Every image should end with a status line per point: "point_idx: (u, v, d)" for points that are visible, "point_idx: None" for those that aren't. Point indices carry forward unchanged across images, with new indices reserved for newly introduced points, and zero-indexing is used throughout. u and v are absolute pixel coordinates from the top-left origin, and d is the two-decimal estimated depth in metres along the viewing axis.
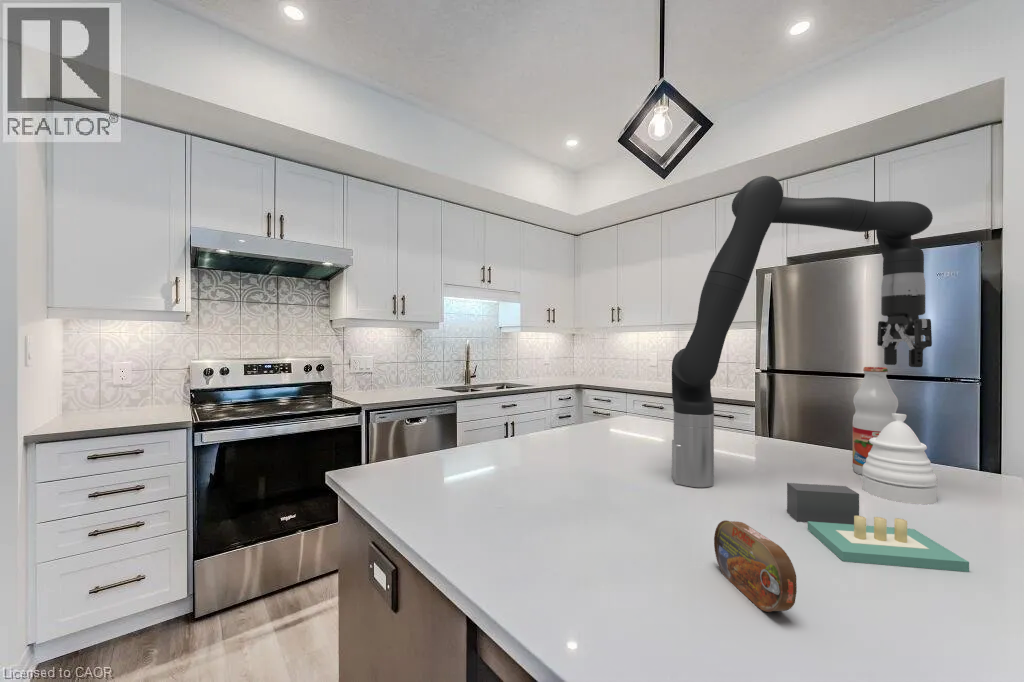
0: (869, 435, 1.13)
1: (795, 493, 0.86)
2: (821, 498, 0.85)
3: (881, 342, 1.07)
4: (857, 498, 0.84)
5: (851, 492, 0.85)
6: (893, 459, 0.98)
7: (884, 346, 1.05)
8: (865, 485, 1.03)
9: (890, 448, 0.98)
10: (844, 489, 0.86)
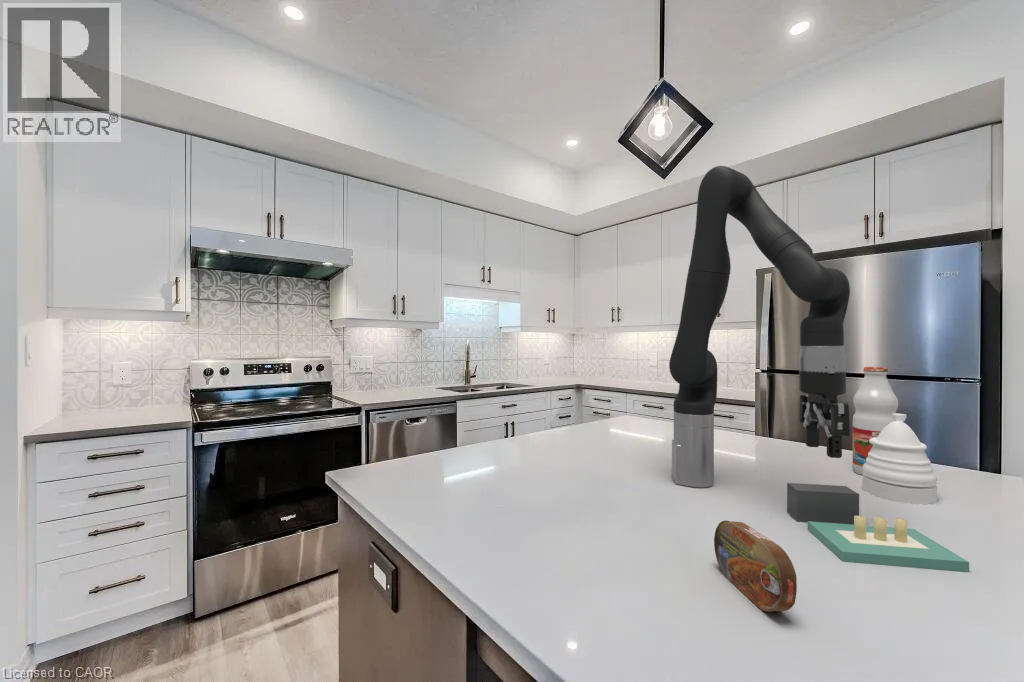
0: (869, 435, 1.13)
1: (795, 493, 0.86)
2: (821, 498, 0.85)
3: (803, 419, 0.93)
4: (857, 498, 0.84)
5: (851, 492, 0.85)
6: (893, 459, 0.98)
7: (805, 425, 0.91)
8: (865, 485, 1.03)
9: (890, 448, 0.98)
10: (844, 489, 0.86)
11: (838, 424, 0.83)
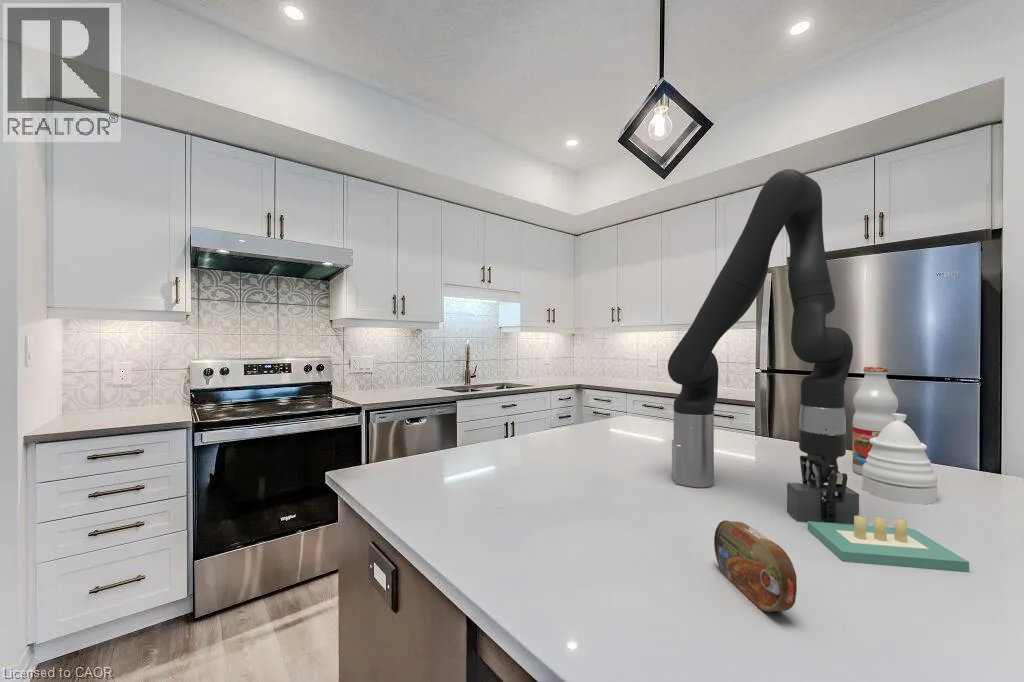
0: (869, 435, 1.13)
1: (795, 493, 0.86)
2: None
3: (806, 480, 0.91)
4: (857, 498, 0.84)
5: (851, 492, 0.85)
6: (893, 459, 0.98)
7: None
8: (865, 485, 1.03)
9: (890, 448, 0.98)
10: None
11: None
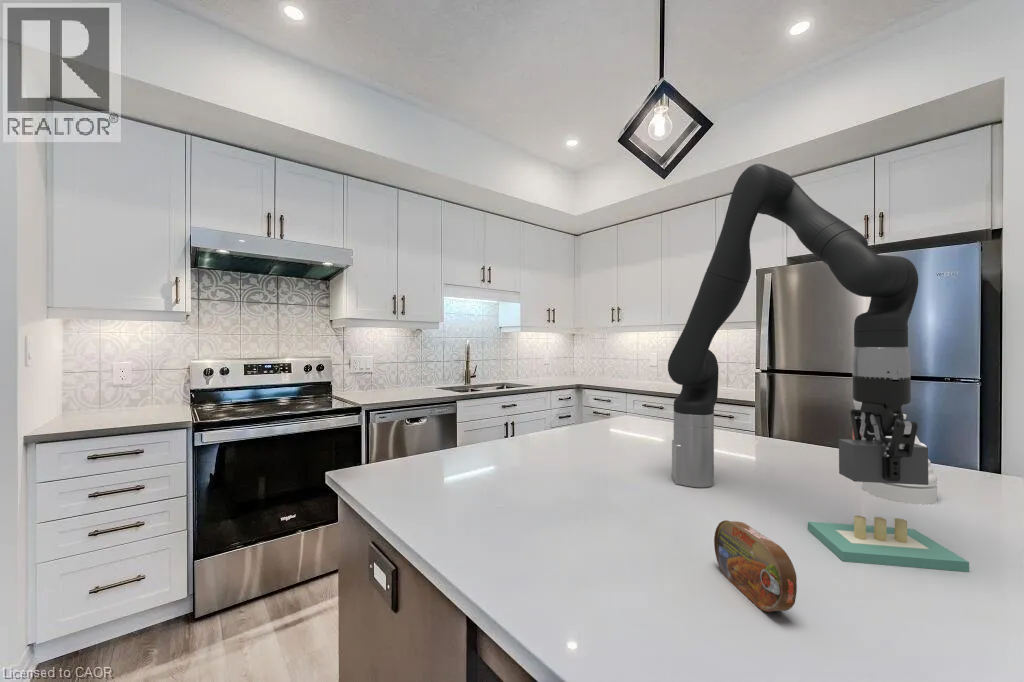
0: None
1: (852, 449, 0.74)
2: None
3: (859, 437, 0.79)
4: (926, 453, 0.71)
5: (918, 446, 0.72)
6: None
7: None
8: (865, 485, 1.03)
9: None
10: None
11: None
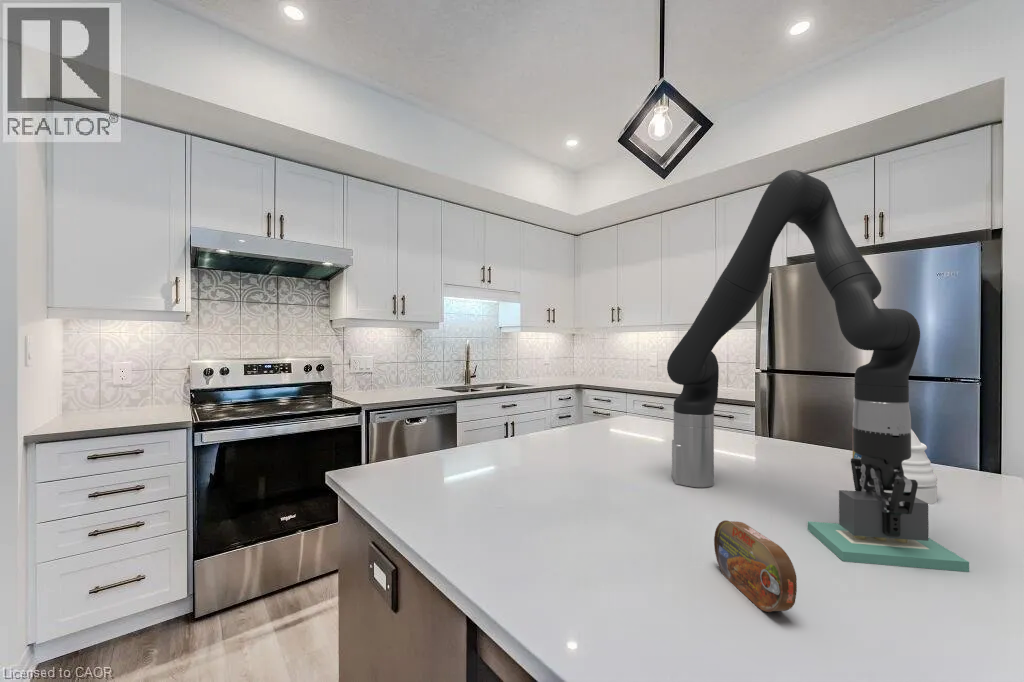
0: None
1: (852, 503, 0.74)
2: None
3: (859, 487, 0.79)
4: (926, 508, 0.71)
5: (918, 501, 0.72)
6: None
7: None
8: None
9: None
10: None
11: None
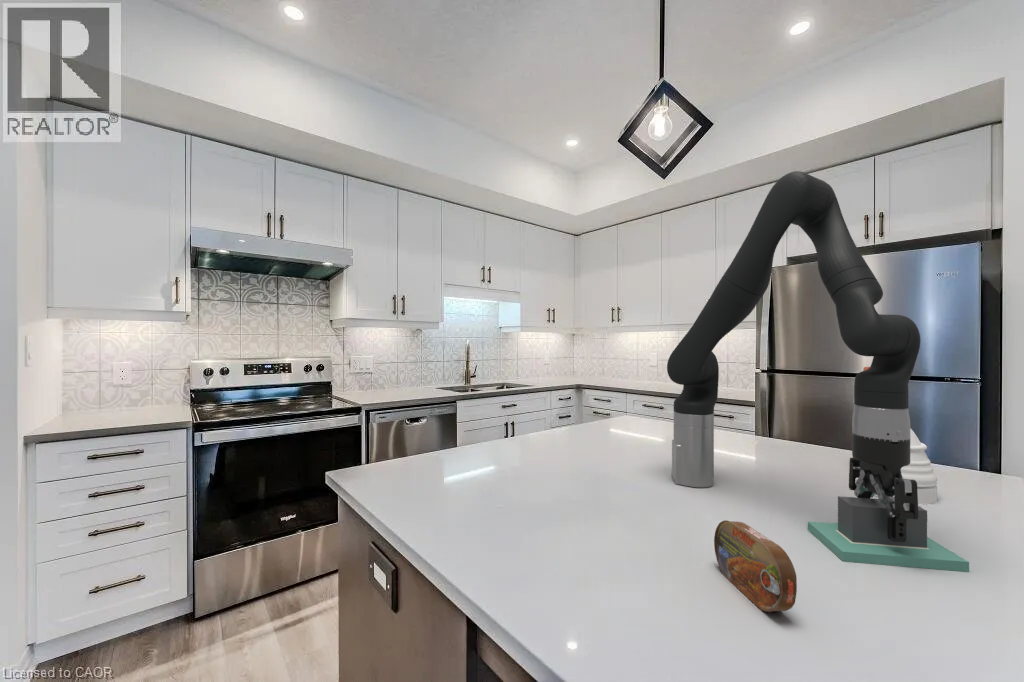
0: None
1: (850, 509, 0.74)
2: (881, 515, 0.73)
3: (853, 486, 0.81)
4: (925, 516, 0.71)
5: None
6: None
7: (857, 494, 0.79)
8: None
9: None
10: (907, 504, 0.74)
11: None
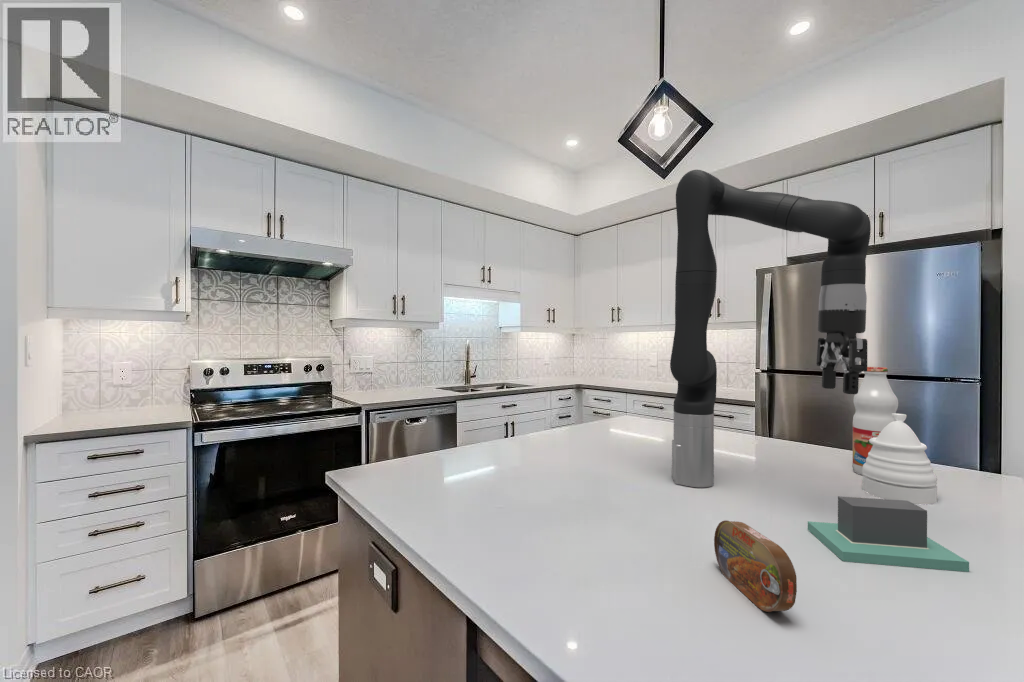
0: (870, 435, 1.13)
1: (850, 509, 0.74)
2: (881, 515, 0.73)
3: (820, 362, 0.93)
4: (925, 516, 0.71)
5: (917, 508, 0.72)
6: (893, 459, 0.98)
7: (822, 367, 0.92)
8: (865, 485, 1.03)
9: (890, 448, 0.98)
10: (907, 504, 0.74)
11: (856, 361, 0.83)
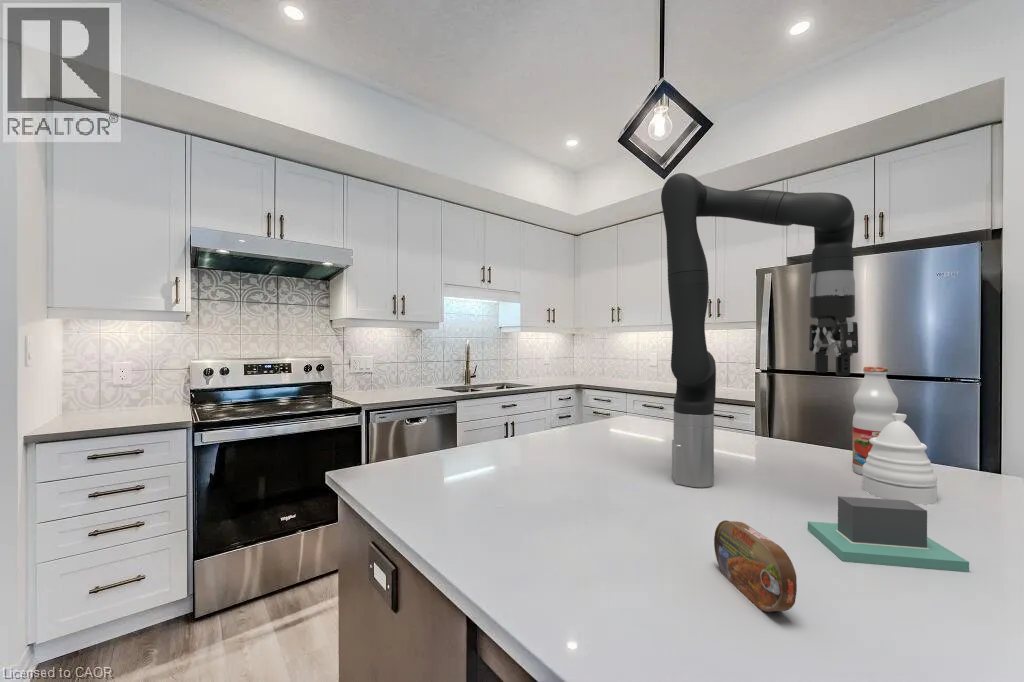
0: (869, 435, 1.13)
1: (850, 509, 0.74)
2: (881, 515, 0.73)
3: (812, 347, 0.97)
4: (925, 516, 0.71)
5: (917, 508, 0.72)
6: (893, 459, 0.98)
7: (815, 352, 0.96)
8: (865, 485, 1.03)
9: (890, 448, 0.98)
10: (907, 504, 0.74)
11: (847, 344, 0.87)
